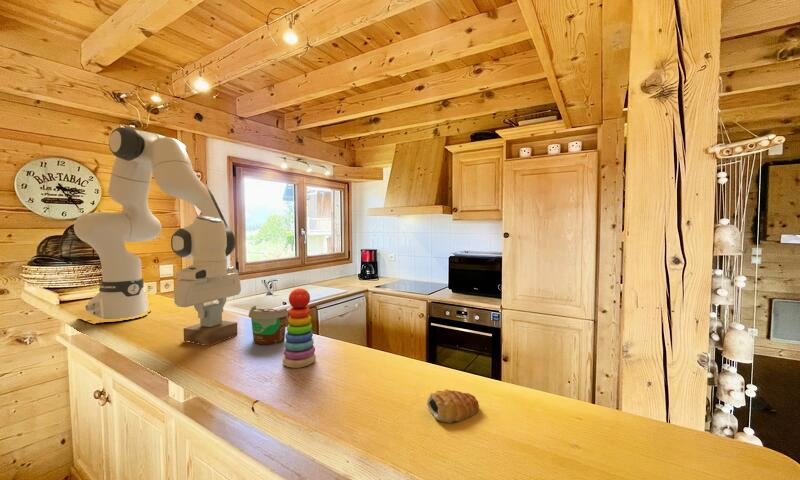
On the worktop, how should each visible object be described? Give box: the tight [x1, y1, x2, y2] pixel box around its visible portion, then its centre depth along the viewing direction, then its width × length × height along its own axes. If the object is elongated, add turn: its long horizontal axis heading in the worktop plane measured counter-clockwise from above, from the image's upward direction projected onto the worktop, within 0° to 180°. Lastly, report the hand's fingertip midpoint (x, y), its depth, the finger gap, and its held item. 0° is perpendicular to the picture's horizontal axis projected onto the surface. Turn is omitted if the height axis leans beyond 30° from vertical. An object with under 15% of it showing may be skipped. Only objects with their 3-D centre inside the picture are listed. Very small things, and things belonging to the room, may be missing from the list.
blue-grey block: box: [199, 302, 223, 327], centre depth 97 cm, size 4×4×6 cm
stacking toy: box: [282, 287, 317, 369], centre depth 80 cm, size 8×8×19 cm
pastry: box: [426, 388, 480, 424], centre depth 59 cm, size 9×7×4 cm
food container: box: [248, 305, 289, 347], centre depth 93 cm, size 12×6×10 cm, turn 73°
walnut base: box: [183, 320, 238, 347], centre depth 97 cm, size 10×10×4 cm
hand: (211, 315), depth 97 cm, fingers open, 4 cm apart
